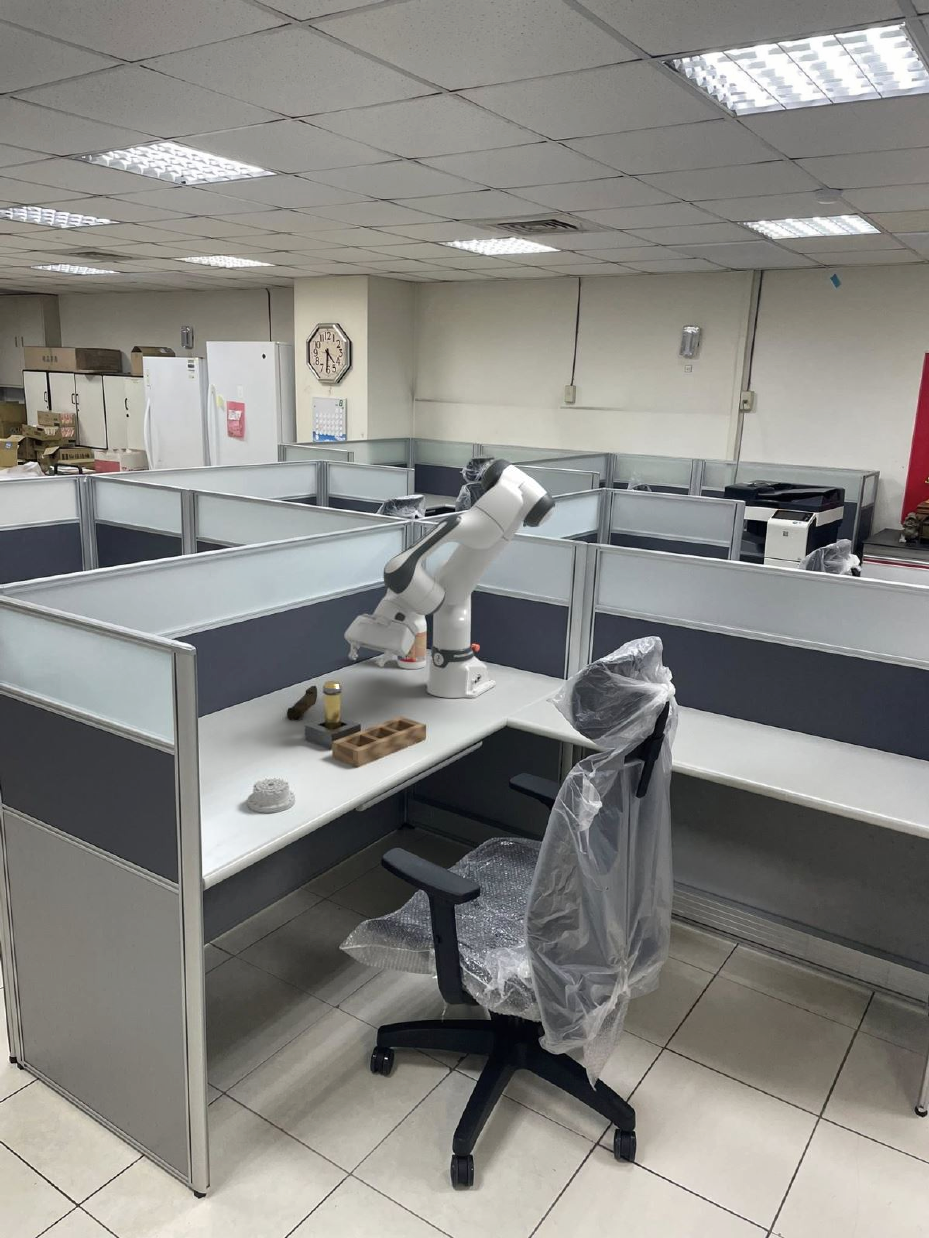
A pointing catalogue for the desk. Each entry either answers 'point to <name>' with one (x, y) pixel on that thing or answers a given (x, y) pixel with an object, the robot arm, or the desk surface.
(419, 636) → the fruit juice
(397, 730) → the wooden compartment tray
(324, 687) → the gold capped cylinder
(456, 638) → the robot arm
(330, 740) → the socket block
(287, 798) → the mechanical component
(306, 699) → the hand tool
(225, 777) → the desk surface
